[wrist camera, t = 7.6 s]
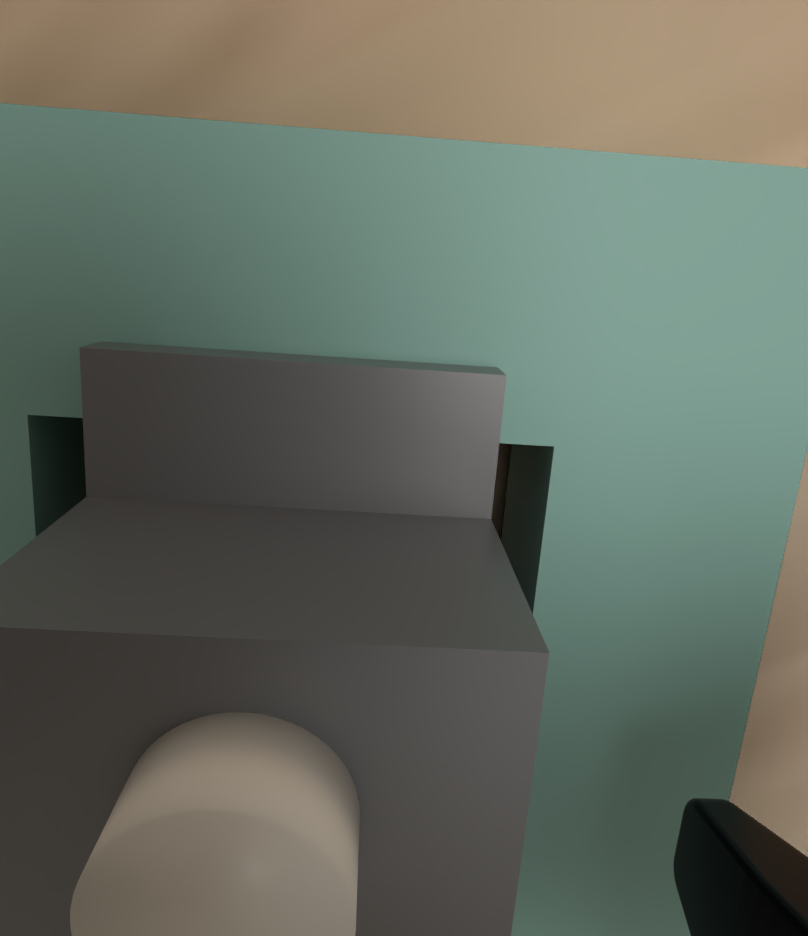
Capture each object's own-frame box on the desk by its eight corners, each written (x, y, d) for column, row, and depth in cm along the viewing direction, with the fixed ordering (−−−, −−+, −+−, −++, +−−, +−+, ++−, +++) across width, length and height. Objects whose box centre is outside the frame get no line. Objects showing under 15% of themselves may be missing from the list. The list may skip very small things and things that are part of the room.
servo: (423, 861, 13) (468, 1492, 6) (173, 853, 13) (-51, 1498, 6) (471, 344, 11) (627, 482, 4) (165, 323, 10) (-223, 432, 4)
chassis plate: (609, 974, 14) (657, 1122, 12) (-38, 958, 13) (-130, 1110, 11) (754, 194, 10) (868, 173, 8) (-135, 124, 10) (-305, 78, 7)
